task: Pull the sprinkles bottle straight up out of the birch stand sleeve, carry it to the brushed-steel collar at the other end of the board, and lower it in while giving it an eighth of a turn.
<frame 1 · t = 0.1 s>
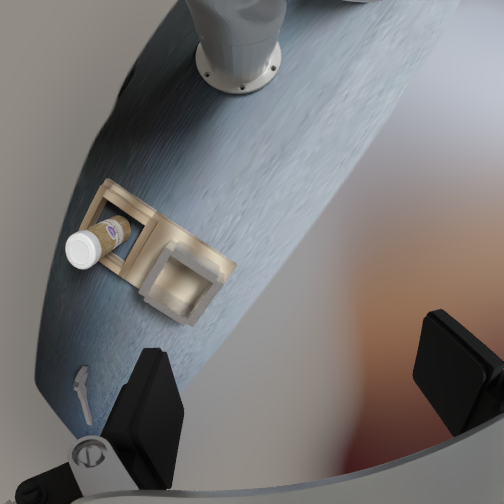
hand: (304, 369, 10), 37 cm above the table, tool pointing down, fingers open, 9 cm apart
stand board: (151, 251, 46), on the table
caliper: (88, 396, 55), on the table
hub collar: (185, 274, 47), resting on stand board
sprinkles bottle: (119, 228, 45), resting in stand board
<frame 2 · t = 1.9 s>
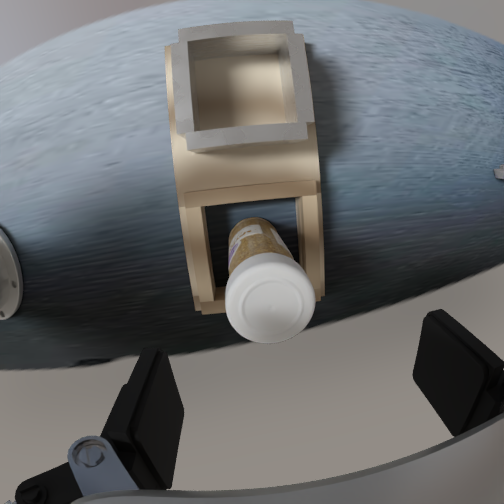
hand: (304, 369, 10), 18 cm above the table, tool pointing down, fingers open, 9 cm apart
stand board: (246, 168, 26), on the table
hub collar: (239, 97, 24), resting on stand board
sprinkles bottle: (253, 241, 28), resting in stand board
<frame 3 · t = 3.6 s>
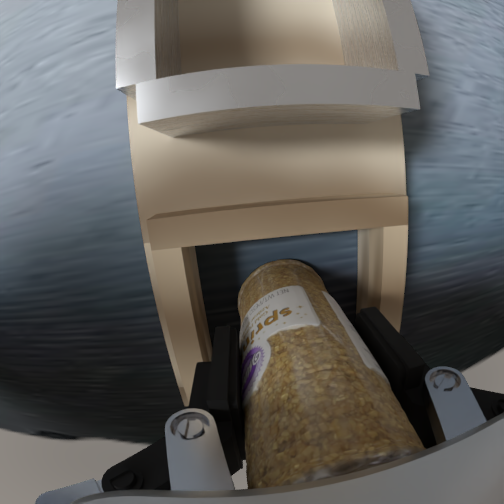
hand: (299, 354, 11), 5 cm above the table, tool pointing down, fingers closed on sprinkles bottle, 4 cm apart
stand board: (272, 168, 14), on the table
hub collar: (258, 40, 12), resting on stand board
sprinkles bottle: (281, 298, 16), resting in stand board, touching gripper
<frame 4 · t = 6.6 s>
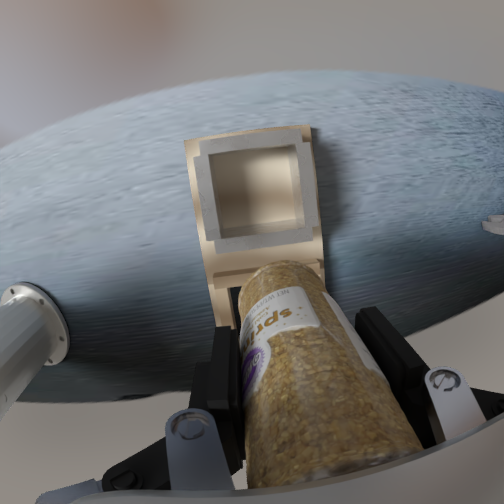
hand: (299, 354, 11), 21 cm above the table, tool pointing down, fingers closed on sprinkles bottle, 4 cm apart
stand board: (262, 249, 32), on the table
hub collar: (254, 186, 30), resting on stand board
sprinkles bottle: (282, 299, 16), point 16 cm above the table, touching gripper
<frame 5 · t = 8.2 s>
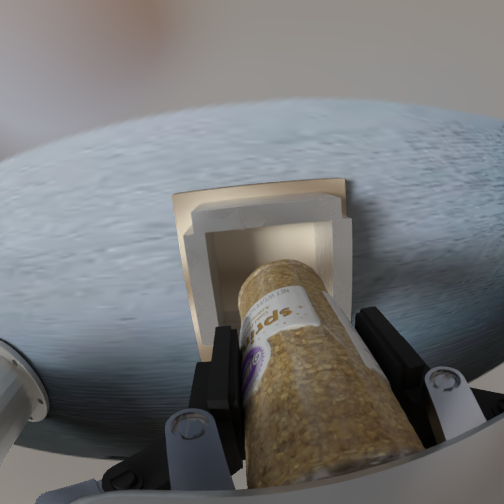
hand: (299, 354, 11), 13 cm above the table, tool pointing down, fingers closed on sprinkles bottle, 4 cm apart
stand board: (271, 331, 25), on the table
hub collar: (265, 256, 23), resting on stand board
sprinkles bottle: (282, 298, 16), point 8 cm above the table, touching gripper
when the fingers open (7 cm above the table, at t = 9.7 s): sprinkles bottle stays where it is, resting on stand board.
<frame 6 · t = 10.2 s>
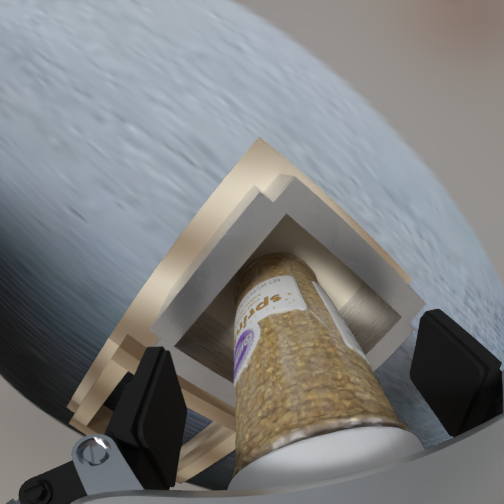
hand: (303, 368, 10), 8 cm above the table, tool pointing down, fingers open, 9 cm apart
stand board: (210, 354, 19), on the table
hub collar: (276, 282, 18), resting on stand board
sprinkles bottle: (276, 290, 17), point 1 cm above the table, touching stand board
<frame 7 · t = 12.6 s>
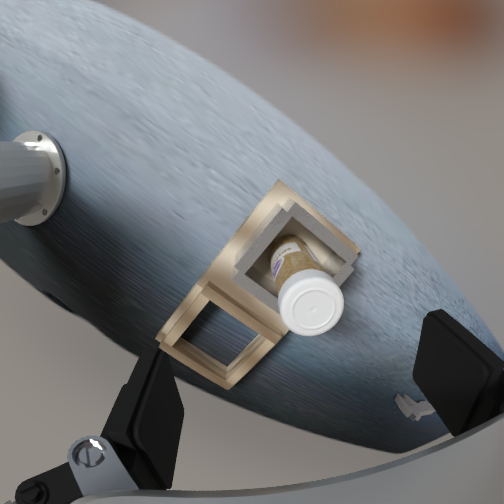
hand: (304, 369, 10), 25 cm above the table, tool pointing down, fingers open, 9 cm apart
stand board: (252, 293, 36), on the table
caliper: (433, 397, 43), on the table
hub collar: (288, 251, 34), resting on stand board
sprinkles bottle: (288, 254, 33), point 1 cm above the table, touching stand board
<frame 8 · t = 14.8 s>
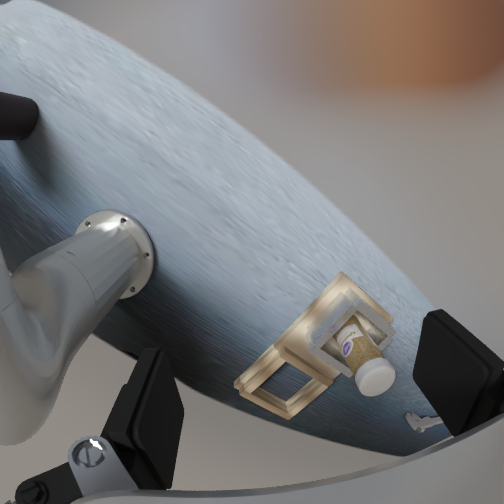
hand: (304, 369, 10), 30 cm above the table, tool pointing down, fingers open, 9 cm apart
stand board: (312, 351, 45), on the table
vinegar: (24, 119, 33), on the table
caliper: (433, 413, 53), on the table
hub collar: (342, 321, 44), resting on stand board
sprinkles bottle: (343, 325, 42), point 1 cm above the table, touching stand board
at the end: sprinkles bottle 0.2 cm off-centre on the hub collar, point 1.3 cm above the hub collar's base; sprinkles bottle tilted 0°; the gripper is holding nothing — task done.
